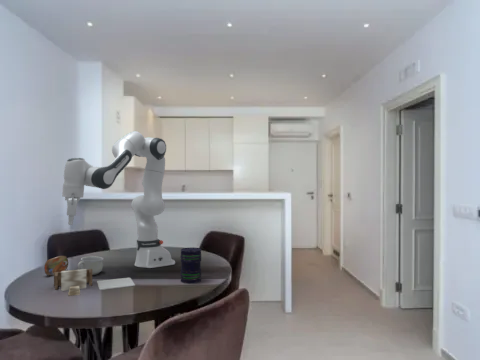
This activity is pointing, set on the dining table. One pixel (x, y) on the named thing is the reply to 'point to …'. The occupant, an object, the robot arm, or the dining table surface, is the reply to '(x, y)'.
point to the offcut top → (74, 288)
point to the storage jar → (190, 265)
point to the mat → (115, 283)
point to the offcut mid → (74, 292)
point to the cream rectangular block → (73, 279)
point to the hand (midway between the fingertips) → (70, 223)
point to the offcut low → (72, 294)
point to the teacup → (91, 264)
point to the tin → (56, 265)
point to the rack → (58, 278)
